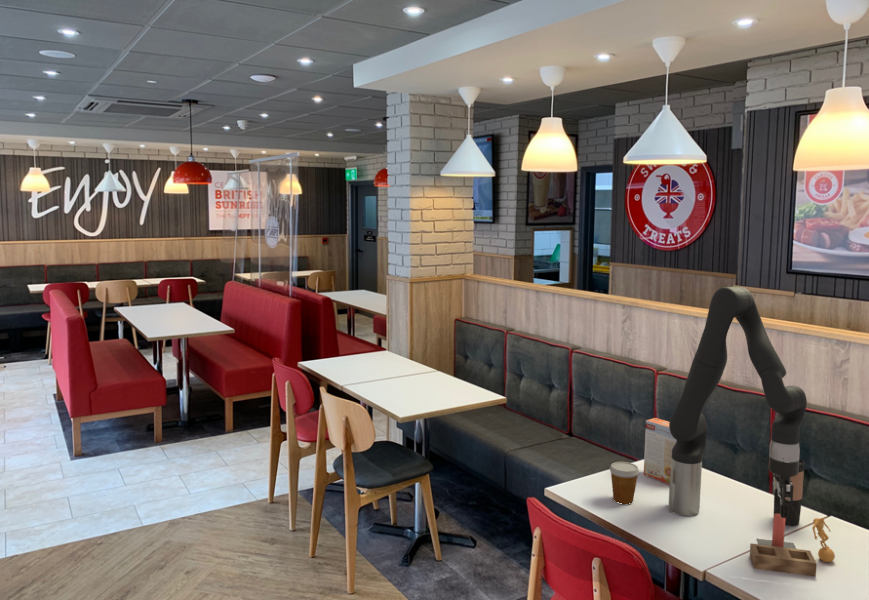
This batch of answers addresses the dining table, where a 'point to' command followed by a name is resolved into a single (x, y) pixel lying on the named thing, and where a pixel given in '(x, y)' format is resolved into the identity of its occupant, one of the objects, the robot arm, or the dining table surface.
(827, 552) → the figurine
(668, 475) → the cracker box
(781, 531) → the peg
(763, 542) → the mat
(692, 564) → the dining table surface
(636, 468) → the disposable coffee cup
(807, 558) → the hole block
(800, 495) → the travel mug
